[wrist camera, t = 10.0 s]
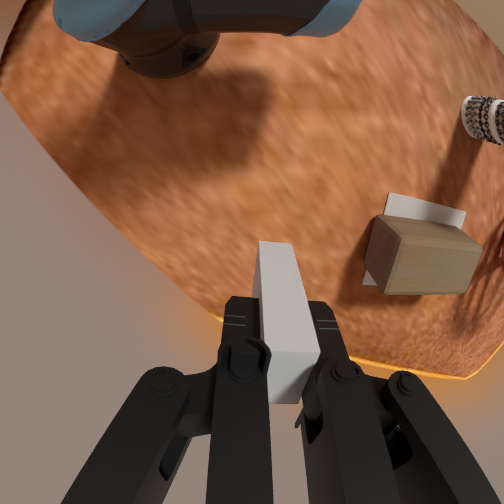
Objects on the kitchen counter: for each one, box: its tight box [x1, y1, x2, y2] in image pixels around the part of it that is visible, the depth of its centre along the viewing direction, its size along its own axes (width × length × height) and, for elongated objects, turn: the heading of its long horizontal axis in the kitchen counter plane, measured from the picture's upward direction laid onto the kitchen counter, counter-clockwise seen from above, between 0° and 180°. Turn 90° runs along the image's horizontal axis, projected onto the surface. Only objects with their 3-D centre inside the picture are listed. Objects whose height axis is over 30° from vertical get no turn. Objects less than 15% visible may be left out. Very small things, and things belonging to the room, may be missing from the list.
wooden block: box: [364, 214, 483, 295], centre depth 40 cm, size 10×10×20 cm
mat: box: [362, 192, 466, 286], centre depth 45 cm, size 18×20×1 cm
